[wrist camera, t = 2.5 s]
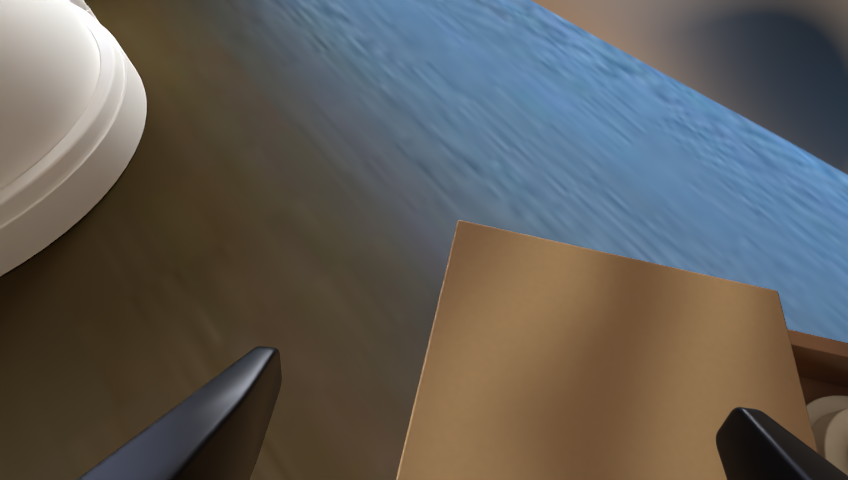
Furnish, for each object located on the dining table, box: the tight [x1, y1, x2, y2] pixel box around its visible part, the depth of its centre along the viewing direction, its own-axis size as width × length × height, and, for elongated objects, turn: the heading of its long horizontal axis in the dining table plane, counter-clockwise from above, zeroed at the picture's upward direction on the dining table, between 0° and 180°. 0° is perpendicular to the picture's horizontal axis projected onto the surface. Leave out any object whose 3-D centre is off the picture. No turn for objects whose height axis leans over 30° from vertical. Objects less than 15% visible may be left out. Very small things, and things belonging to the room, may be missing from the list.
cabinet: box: [396, 220, 818, 480], centre depth 20 cm, size 16×14×6 cm
